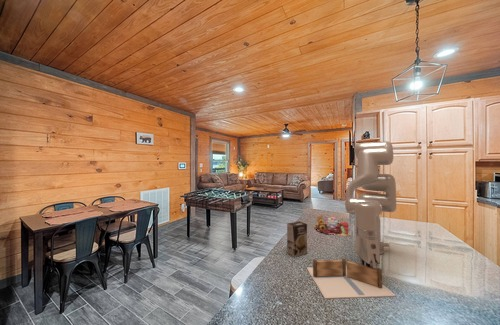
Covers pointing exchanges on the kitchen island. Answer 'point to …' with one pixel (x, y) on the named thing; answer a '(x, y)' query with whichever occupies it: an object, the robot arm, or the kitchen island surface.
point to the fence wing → (365, 273)
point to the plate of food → (332, 226)
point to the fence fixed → (329, 268)
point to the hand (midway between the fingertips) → (366, 275)
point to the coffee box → (297, 238)
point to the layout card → (347, 287)
